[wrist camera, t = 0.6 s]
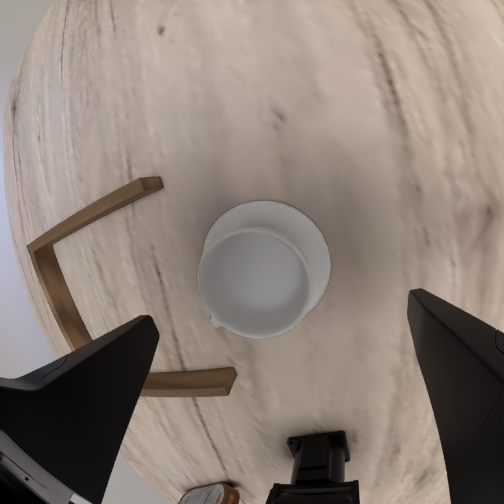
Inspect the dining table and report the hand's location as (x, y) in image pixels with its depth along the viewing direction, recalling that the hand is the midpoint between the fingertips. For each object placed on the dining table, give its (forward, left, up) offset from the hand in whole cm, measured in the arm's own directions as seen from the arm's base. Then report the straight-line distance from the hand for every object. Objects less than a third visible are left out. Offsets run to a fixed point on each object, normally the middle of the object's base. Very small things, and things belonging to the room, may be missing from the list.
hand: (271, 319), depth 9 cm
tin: (-37, +23, -13) cm, 45 cm away
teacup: (-2, +3, -13) cm, 13 cm away
